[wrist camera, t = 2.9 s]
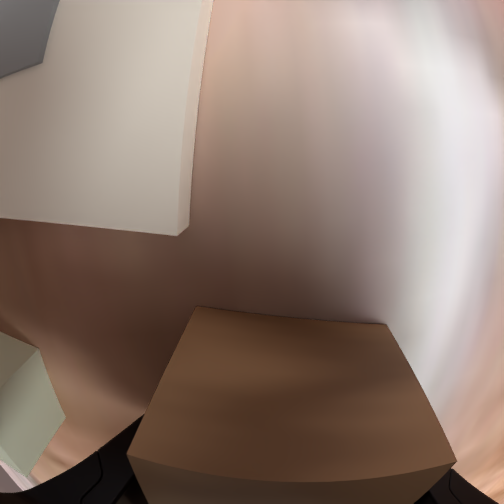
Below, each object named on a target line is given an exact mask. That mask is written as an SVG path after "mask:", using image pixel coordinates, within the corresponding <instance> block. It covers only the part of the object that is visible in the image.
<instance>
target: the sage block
mask: <svg viewBox="0 0 504 504" xmlns="http://www.w3.org/2000/svg"><path fill="white" fill-rule="evenodd" d="M65 418H66V417H65V415H64V412H63V410H62V408H61V406H60V404H59V401H58V399H57V396H56V394H55V392H54V389H53V387H52V384H51V382H50V379H49V376H48V374H47V371H46V368H45V365H44V363H43V360H42V357H41V354H40V351H39V348H36V347H34V346H31V345H29V344H27V343H24V342H22V341H20V340H18V339H15V338H13V337H11V336H9V335H7V334H5V333H2V332H0V460H2V461H3V462H4V463H6V464H7V465H9V466H10V467H11V468H13V469H14V470H16V471H17V472H19V473H20V474H22V475H23V476H25V477H28V475H29V474H30V472H31V470H32V469H33V467H34V466H35V464H36V462H37V461H38V459H39V458H40V456H41V454H42V453H43V451H44V450H45V448H46V447H47V445H48V444H49V442H50V441H51V439H52V438H53V436H54V435H55V433H56V431H57V430H58V429H59V427H60V426H61V424H62V423H63V421H64V420H65Z"/></svg>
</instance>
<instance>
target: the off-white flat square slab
mask: <svg viewBox="0 0 504 504" xmlns="http://www.w3.org/2000/svg"><path fill="white" fill-rule="evenodd" d="M213 2H214V0H0V218H7V219H17V220H27V221H38V222H48V223H58V224H68V225H78V226H87V227H97V228H107V229H117V230H126V231H136V232H145V233H154V234H164V235H173V236H178V235H179V234H180V233H181V232H182V231H183V230H185V229H186V228H187V227H188V226H189V218H190V199H191V183H192V169H193V156H194V144H195V133H196V123H197V113H198V104H199V96H200V87H201V79H202V72H203V64H204V57H205V50H206V43H207V37H208V31H209V25H210V19H211V13H212V7H213Z"/></svg>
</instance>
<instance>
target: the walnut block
mask: <svg viewBox="0 0 504 504" xmlns="http://www.w3.org/2000/svg"><path fill="white" fill-rule="evenodd" d="M127 457H128V459H129V462H130V464H131V466H132V469H133V471H134V473H135V476H136V478H137V480H138V482H139V485H140V487H141V489H142V491H143V493H144V495H145V497H146V499H147V501H148V503H149V504H414V503H415V502H416V501H417V500H418V499H419V498H420V497H422V496H423V495H424V494H425V493H426V492H427V491H428V490H429V489H430V488H431V487H432V486H433V485H434V484H435V483H436V482H437V481H438V480H439V479H440V478H441V477H442V476H443V475H444V474H445V473H446V472H447V471H448V470H449V469H450V468H451V467H452V466H453V465H454V464H455V463H456V462H457V460H456V458H455V455H454V453H453V451H452V449H451V446H450V444H449V442H448V440H447V438H446V435H445V433H444V431H443V429H442V427H441V425H440V423H439V421H438V419H437V417H436V415H435V413H434V411H433V409H432V407H431V405H430V403H429V401H428V399H427V397H426V395H425V393H424V391H423V389H422V387H421V385H420V383H419V381H418V380H417V378H416V376H415V374H414V372H413V370H412V368H411V367H410V365H409V363H408V361H407V359H406V358H405V356H404V354H403V352H402V350H401V349H400V347H399V345H398V343H397V342H396V340H395V338H394V336H393V335H392V333H391V331H390V330H389V328H388V326H387V325H384V324H366V323H350V322H336V321H323V320H312V319H301V318H290V317H280V316H271V315H262V314H253V313H245V312H237V311H229V310H222V309H214V308H207V307H200V306H196V308H195V310H194V312H193V314H192V316H191V318H190V320H189V322H188V324H187V326H186V328H185V330H184V332H183V334H182V336H181V338H180V340H179V343H178V345H177V347H176V349H175V351H174V353H173V355H172V357H171V359H170V361H169V363H168V365H167V367H166V370H165V372H164V374H163V376H162V378H161V380H160V382H159V384H158V386H157V389H156V391H155V393H154V395H153V397H152V399H151V401H150V404H149V406H148V408H147V410H146V412H145V414H144V416H143V419H142V421H141V423H140V425H139V427H138V430H137V432H136V434H135V436H134V438H133V441H132V443H131V445H130V447H129V449H128V452H127Z"/></svg>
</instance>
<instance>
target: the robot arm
mask: <svg viewBox="0 0 504 504" xmlns="http://www.w3.org/2000/svg"><path fill="white" fill-rule="evenodd" d="M143 416H144V414H143V415H142V416H141V417H140V418H138V419H137V420H136V421H135V422H133V423H132V424H131V425H130V426H128V427H127V428H126V429H124V430H123V431H122V432H121V433H119V434H118V435H117V436H115V437H114V438H113V439H112V440H110V441H109V442H108V443H106V444H105V445H104V446H102V447H101V448H100V449H98V451H95V452H94V453H93V454H91V455H90V456H89V457H87V458H86V459H84V460H83V461H82V462H80V463H79V464H77V465H76V466H74V467H72V468H70V469H69V470H67V471H65V472H63V473H62V474H60V475H58V476H56V477H54V478H52V479H50V480H48V481H46V482H44V483H42V484H40V485H38V486H35V487H33V488H31V489H29V490H25V491H22V492H16V493H1V492H0V504H149V503H148V501H147V499H146V497H145V495H144V493H143V491H142V489H141V487H140V485H139V482H138V480H137V478H136V476H135V473H134V471H133V469H132V466H131V464H130V462H129V459H128V457H127V452H128V449H129V447H130V445H131V443H132V441H133V438H134V436H135V434H136V432H137V430H138V427H139V425H140V423H141V421H142V419H143ZM414 504H498V503H497V502H495V501H494V500H492V499H491V498H490V497H488V496H487V495H485V494H484V493H482V492H481V491H479V490H478V489H477V488H475V487H474V486H473V485H471V484H470V483H469V482H467V481H466V480H465V479H464V478H463V477H462V476H460V475H459V474H458V473H457V472H456V471H455V470H454V469H451V468H450V469H449V470H448V471H447V472H446V473H445V474H444V475H443V476H442V477H441V478H440V479H439V480H438V481H437V482H436V483H435V484H434V485H433V486H432V487H431V488H430V489H429V490H428V491H427V492H426V493H425V494H424V495H423V496H422V497H420V498H419V499H418V500H417V501H416V502H415V503H414Z"/></svg>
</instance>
